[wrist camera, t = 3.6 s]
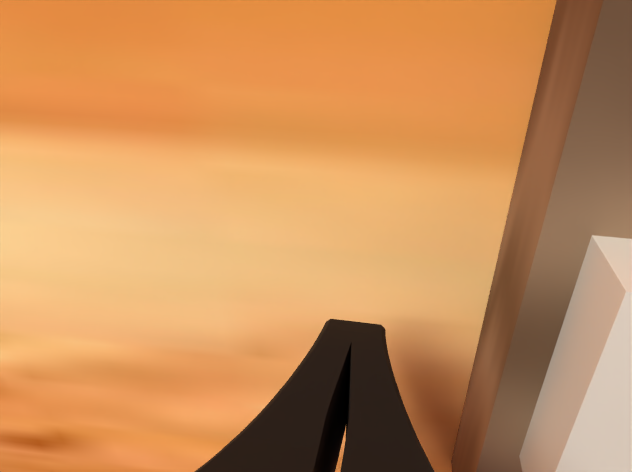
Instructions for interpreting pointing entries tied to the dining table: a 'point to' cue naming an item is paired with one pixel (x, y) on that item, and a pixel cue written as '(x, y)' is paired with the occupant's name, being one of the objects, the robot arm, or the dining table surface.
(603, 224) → the walnut board
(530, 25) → the dining table surface
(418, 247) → the dining table surface
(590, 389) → the coaster
